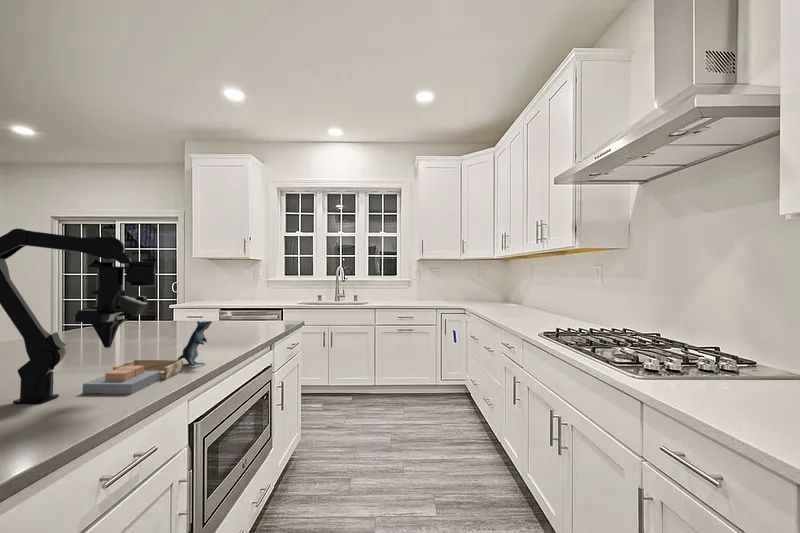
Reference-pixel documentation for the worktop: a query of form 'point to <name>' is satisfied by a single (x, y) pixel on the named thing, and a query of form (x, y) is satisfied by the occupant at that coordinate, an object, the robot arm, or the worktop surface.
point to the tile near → (119, 375)
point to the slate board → (121, 384)
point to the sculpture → (195, 343)
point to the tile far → (137, 369)
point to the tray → (157, 366)
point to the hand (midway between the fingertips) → (107, 347)
